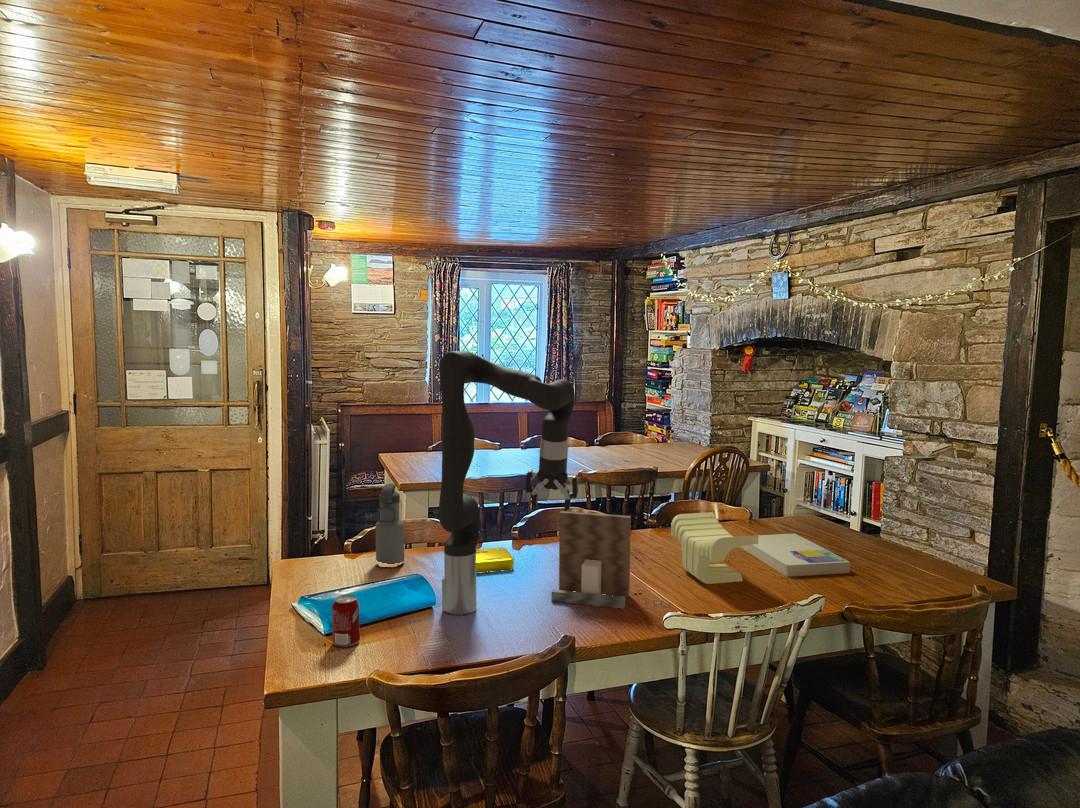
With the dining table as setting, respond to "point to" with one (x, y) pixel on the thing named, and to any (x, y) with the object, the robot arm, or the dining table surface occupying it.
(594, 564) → the beige rectangular block
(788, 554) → the puzzle box
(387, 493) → the water bottle
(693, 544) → the slatted curved stool
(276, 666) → the dining table surface
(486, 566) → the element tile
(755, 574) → the dining table surface
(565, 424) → the robot arm
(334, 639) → the soda can
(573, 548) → the wall board
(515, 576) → the dining table surface
